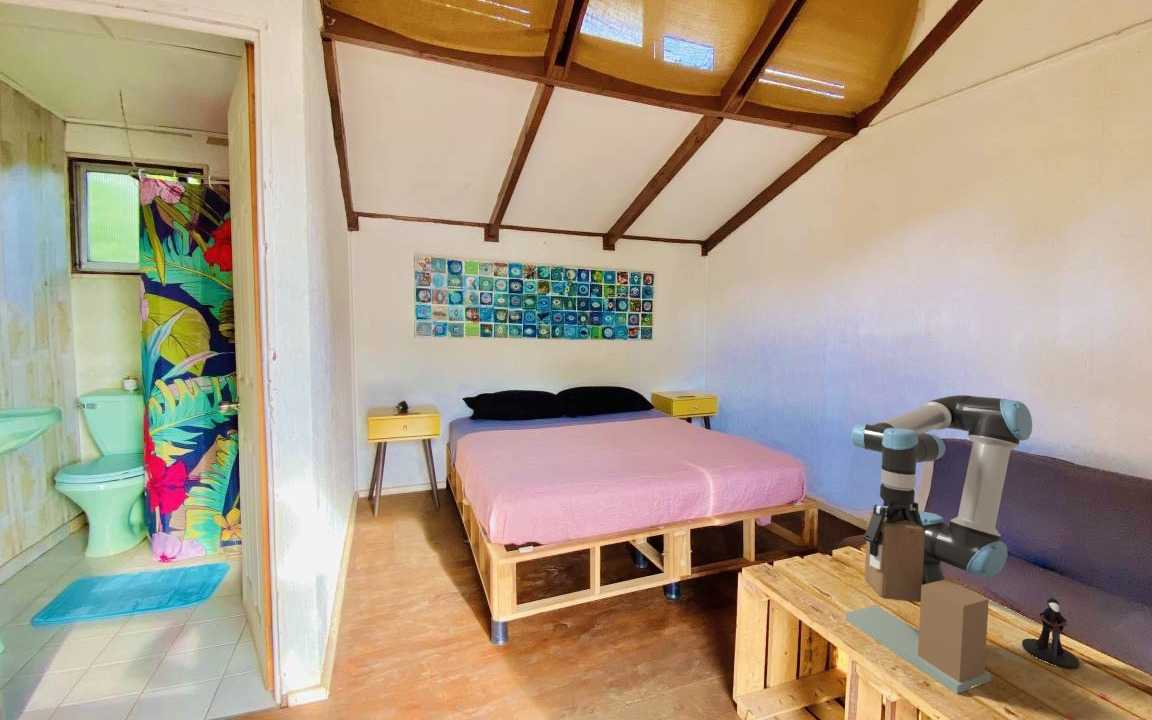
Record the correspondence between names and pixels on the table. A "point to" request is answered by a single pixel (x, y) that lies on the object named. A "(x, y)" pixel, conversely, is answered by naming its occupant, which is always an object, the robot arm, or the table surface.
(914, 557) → the wooden block
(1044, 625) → the figurine
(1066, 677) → the table surface
